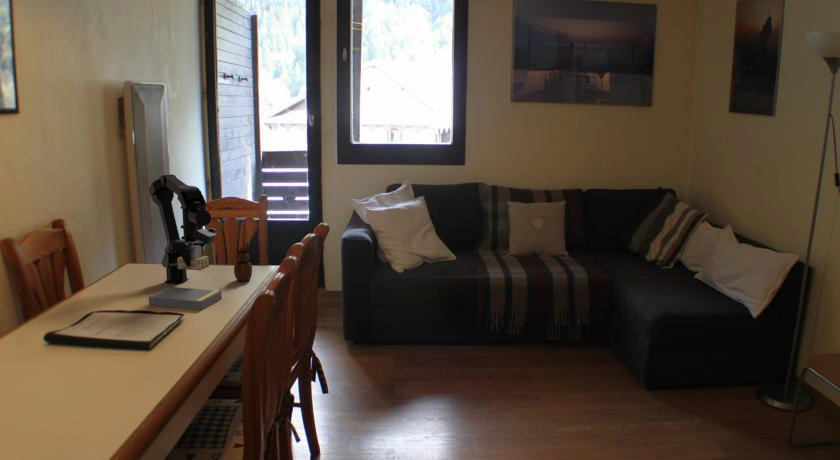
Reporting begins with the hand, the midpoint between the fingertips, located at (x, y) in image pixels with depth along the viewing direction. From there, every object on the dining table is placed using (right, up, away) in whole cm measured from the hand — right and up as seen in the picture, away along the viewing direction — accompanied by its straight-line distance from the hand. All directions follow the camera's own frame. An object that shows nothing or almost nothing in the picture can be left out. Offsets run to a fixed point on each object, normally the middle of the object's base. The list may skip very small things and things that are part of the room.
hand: (193, 264), depth 249 cm
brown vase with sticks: (+14, -7, +16) cm, 23 cm away
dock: (+2, -13, -12) cm, 18 cm away
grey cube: (0, +3, 0) cm, 3 cm away
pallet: (0, -1, 0) cm, 1 cm away
